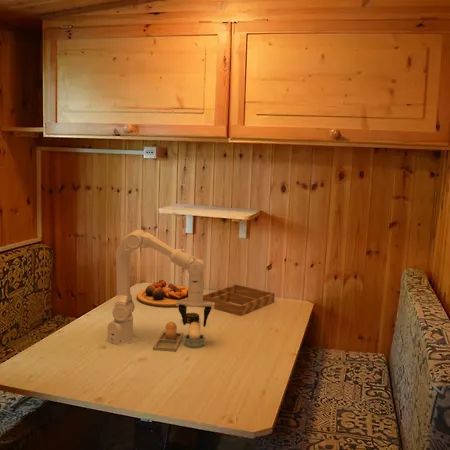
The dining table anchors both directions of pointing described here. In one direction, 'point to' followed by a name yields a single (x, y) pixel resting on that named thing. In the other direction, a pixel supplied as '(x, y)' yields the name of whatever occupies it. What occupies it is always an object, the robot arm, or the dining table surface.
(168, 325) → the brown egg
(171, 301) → the wooden plate with food
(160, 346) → the divided tray
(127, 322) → the robot arm
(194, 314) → the tape measure
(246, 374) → the dining table surface
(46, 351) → the dining table surface
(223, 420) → the dining table surface
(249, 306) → the wooden compartment tray
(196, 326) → the tan rounded cylinder
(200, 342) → the octagonal bowl
